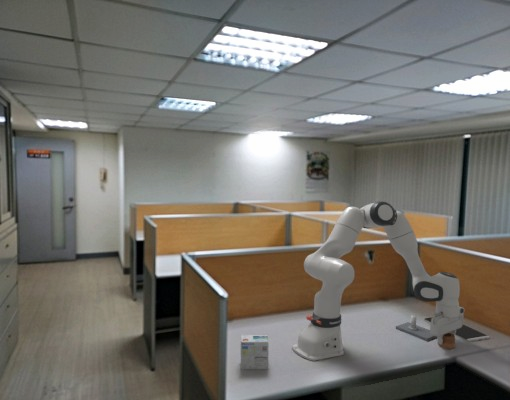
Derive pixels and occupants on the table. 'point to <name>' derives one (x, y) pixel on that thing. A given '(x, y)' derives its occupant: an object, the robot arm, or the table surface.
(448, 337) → the ring
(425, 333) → the post stand
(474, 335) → the smartphone
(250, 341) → the light bulb box
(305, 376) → the table surface
